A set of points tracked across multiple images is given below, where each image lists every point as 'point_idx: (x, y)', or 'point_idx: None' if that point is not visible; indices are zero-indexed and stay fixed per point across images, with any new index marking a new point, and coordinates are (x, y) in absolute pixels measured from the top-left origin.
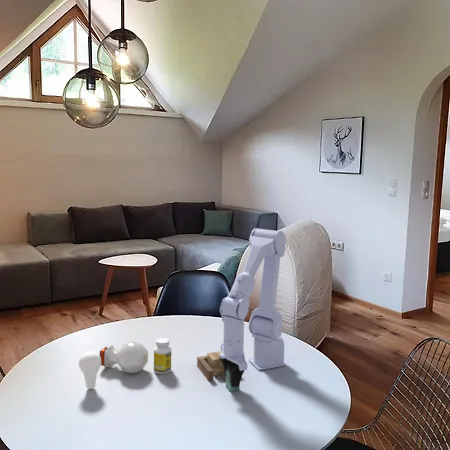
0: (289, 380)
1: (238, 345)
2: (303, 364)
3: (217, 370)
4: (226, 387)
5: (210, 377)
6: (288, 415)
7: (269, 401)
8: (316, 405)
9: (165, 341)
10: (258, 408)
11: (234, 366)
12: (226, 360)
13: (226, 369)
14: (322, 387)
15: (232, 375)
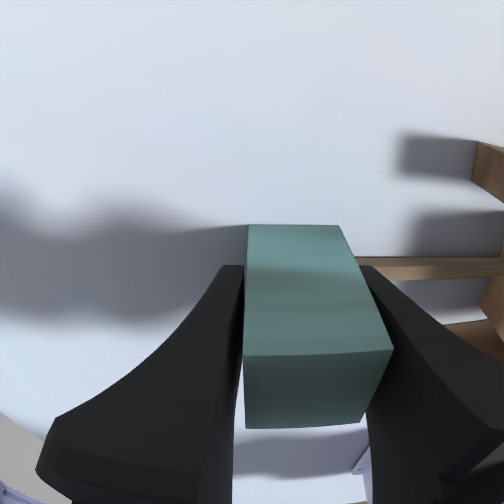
0: (250, 461)
1: None
2: (326, 489)
3: None
4: (324, 226)
5: (491, 166)
6: (6, 361)
7: (90, 366)
8: None
9: None
10: (29, 300)
11: (76, 499)
12: (439, 459)
13: (384, 350)
14: None
15: (149, 361)
